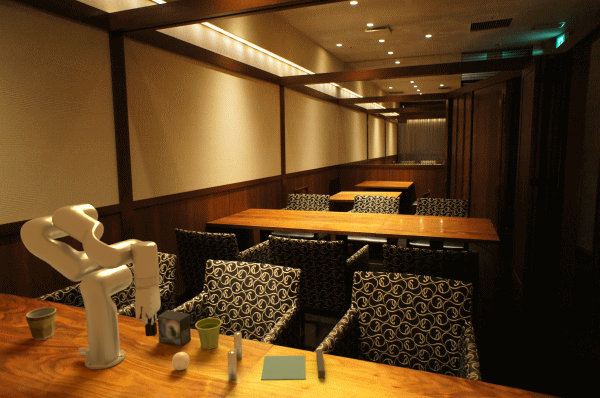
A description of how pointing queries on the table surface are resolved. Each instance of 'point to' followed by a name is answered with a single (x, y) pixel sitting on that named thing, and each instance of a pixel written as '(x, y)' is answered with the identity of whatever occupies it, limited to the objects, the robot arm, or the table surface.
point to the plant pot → (208, 332)
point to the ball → (180, 361)
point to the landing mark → (283, 367)
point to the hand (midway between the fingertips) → (151, 334)
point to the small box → (174, 328)
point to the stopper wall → (320, 364)
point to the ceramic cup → (41, 322)
